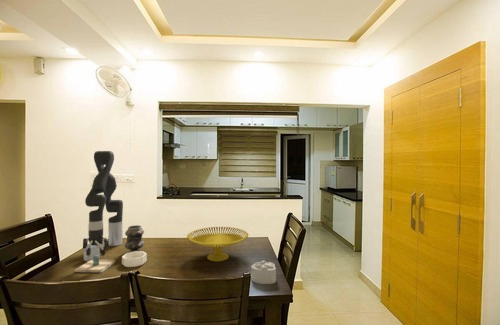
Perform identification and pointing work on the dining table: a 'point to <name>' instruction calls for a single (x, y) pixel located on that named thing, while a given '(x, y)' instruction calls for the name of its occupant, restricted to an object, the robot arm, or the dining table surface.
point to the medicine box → (92, 253)
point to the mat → (101, 271)
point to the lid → (95, 265)
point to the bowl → (134, 259)
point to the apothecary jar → (134, 238)
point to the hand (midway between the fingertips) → (95, 255)
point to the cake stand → (217, 240)
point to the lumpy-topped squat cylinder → (263, 273)
